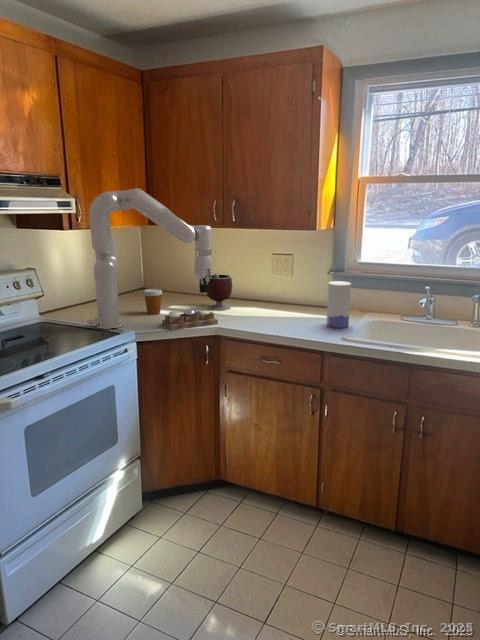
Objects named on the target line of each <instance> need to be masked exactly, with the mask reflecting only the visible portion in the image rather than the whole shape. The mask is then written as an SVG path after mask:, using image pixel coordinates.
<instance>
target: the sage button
mask: <svg viewBox="0 0 480 640" xmlns="http://www.w3.org/2000/svg"><path fill="white" fill-rule="evenodd" d="M198 312H199V314H201V315H204V314H210V312H211V310H200V311H198Z"/></svg>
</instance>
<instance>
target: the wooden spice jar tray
mask: <svg viewBox="0 0 480 640" xmlns="http://www.w3.org/2000/svg"><path fill="white" fill-rule="evenodd" d="M161 322H162V323H161V324H162V325H163V326H164V327H166V328H167V329H169V330H170V331H176V330H183V329H185V330H186V329H191V328H197V327H204V326H206V327H207V326H212V325H218V324H219V322H218V319H217V318H215V313H214V312H211V311H210V314H204V315H201V314H199V311H195V316H188V317H186V316H184V313H180V318H172V319H171V318H169V314H168V315H165V316H164V319H162V320H161Z"/></svg>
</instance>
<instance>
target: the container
mask: <svg viewBox="0 0 480 640" xmlns="http://www.w3.org/2000/svg"><path fill="white" fill-rule="evenodd" d="M327 286H328V287H327V288H328V289H327V306H326V307H327V309H326V326H328V327H330V328H335V329H344V328H348V327H349V323H350V321H349V320H350V307H351V306H350V305H351V288H352V287H351V286H352V283H351V282H349V281H344V280H343V281H341V280H337V281H336V280H335V281H329V282H328V285H327Z"/></svg>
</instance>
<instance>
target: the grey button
mask: <svg viewBox="0 0 480 640" xmlns="http://www.w3.org/2000/svg"><path fill="white" fill-rule="evenodd" d="M195 312H196V310H195V309H185V310H184V313H183V314H184V316H186V317H188V316H195Z"/></svg>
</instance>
